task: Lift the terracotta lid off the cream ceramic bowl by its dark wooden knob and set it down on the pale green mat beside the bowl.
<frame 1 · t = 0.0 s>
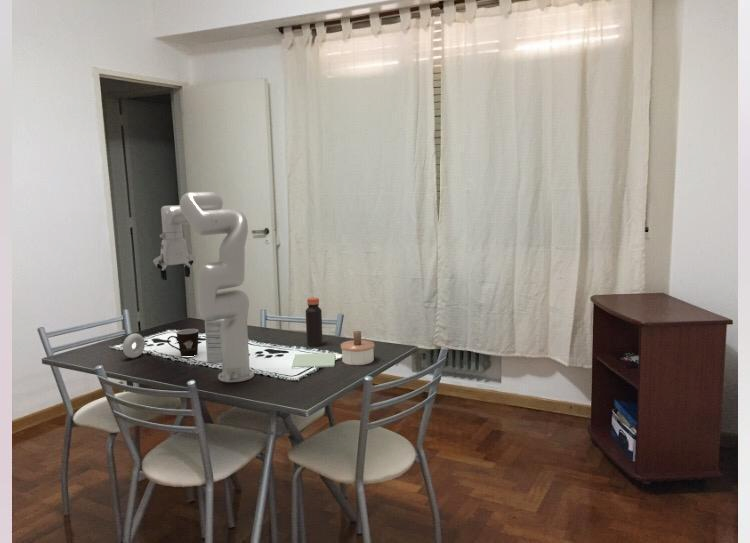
hand: (175, 278, 237), 31 cm above the table, tool pointing down, fingers open, 9 cm apart
supplement box: (221, 359, 232), on the table
bottle: (314, 344, 250), on the table
lid: (357, 346, 225), point 5 cm above the table, touching bowl
bowl: (357, 360, 226), on the table
mat: (314, 361, 226), on the table
coffee mug: (185, 355, 238), on the table
donut: (135, 358, 236), on the table
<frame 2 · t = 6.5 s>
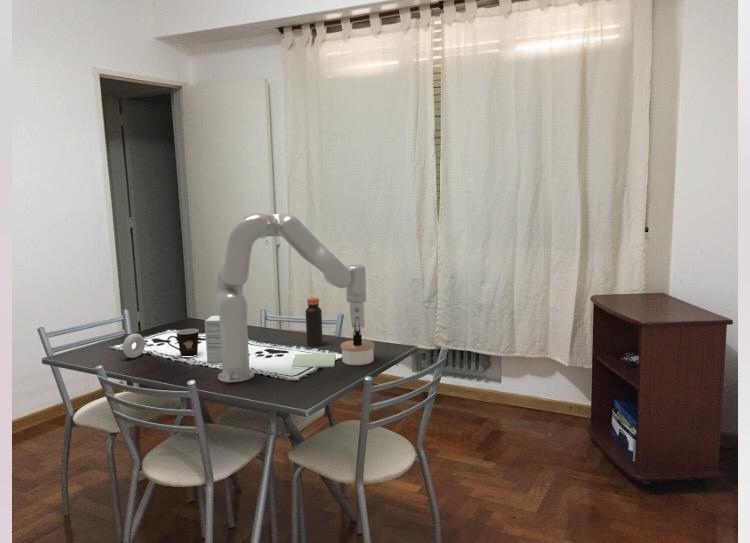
hand: (357, 343, 225), 7 cm above the table, tool pointing down, fingers closed on lid, 3 cm apart
lid: (357, 346, 225), point 5 cm above the table, touching bowl, gripper
everything else where it was.
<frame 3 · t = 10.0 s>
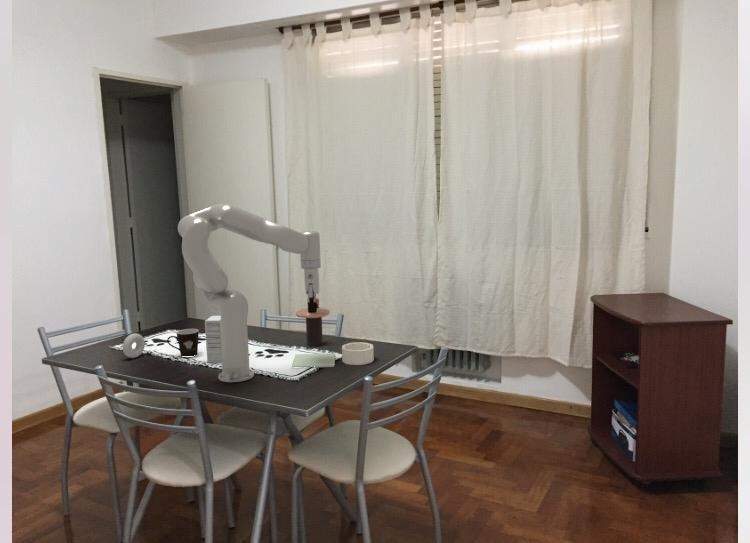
hand: (312, 310, 223), 20 cm above the table, tool pointing down, fingers closed on lid, 3 cm apart
lid: (312, 314, 224), point 19 cm above the table, touching gripper
everything else where it was.
when the fingers open (3 cm above the table, at t = 13.5 s): lid drops 1 cm, resting on mat.
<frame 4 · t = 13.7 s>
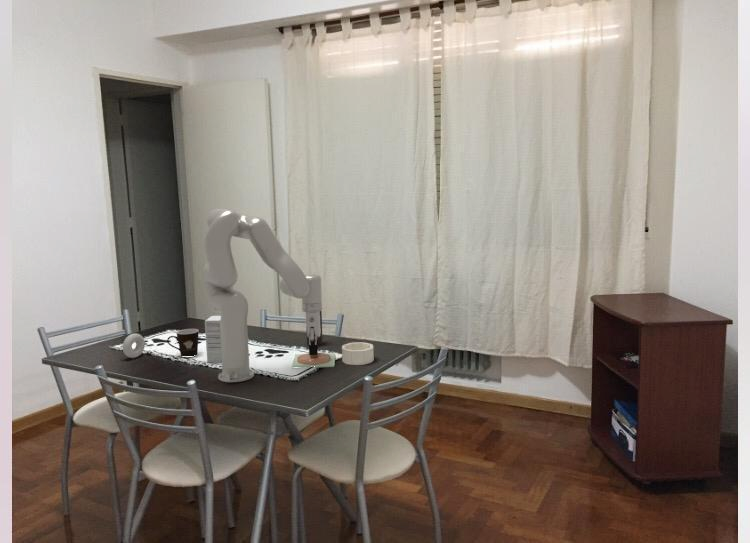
hand: (313, 352, 226), 4 cm above the table, tool pointing down, fingers open, 5 cm apart
lid: (314, 359, 226), point 1 cm above the table, touching mat
everything else where it was.
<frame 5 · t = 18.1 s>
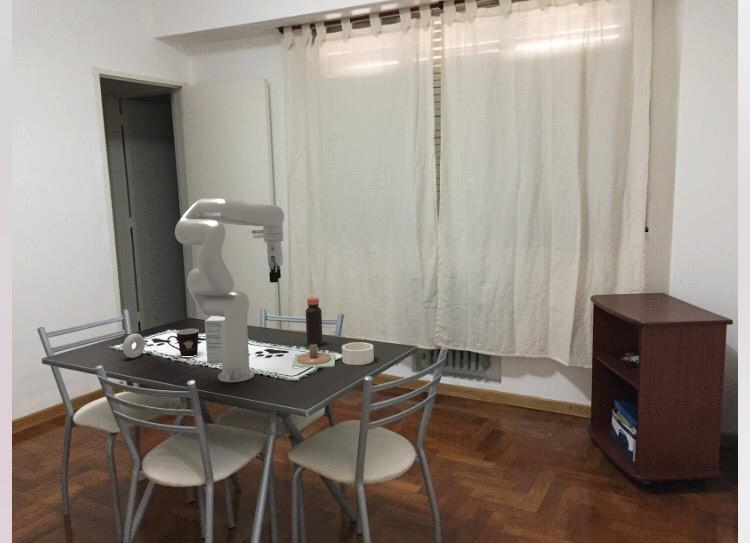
hand: (275, 280, 233), 30 cm above the table, tool pointing down, fingers open, 9 cm apart
nothing on the table moved.
at the end: lid inside the target area on the mat (0.0 cm from its centre), point 0.6 cm above the mat's base; lid tilted 0°; lid touching mat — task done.
